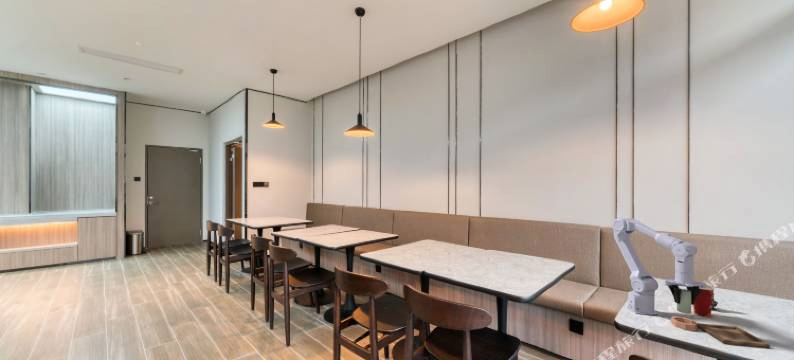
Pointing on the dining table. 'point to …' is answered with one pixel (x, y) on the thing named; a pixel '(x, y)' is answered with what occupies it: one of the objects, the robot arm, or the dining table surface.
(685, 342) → the dining table surface
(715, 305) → the salt shaker
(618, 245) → the robot arm
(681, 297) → the green pin
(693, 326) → the orange octagonal ring
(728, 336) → the serving tray
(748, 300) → the dining table surface
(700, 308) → the paper cup
